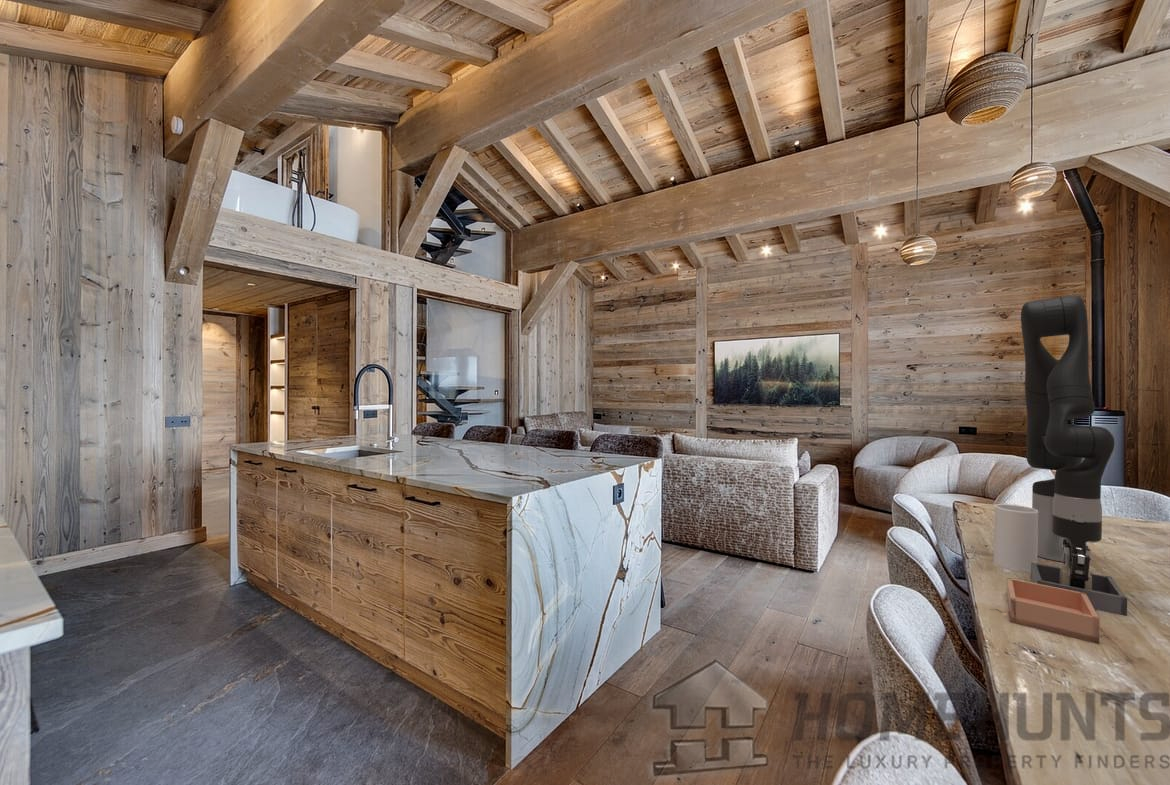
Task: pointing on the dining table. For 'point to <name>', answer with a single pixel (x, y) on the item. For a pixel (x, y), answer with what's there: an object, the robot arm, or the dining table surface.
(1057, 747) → the dining table surface
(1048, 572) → the bin
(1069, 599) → the bin
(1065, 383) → the robot arm
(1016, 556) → the cup
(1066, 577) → the block
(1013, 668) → the dining table surface
